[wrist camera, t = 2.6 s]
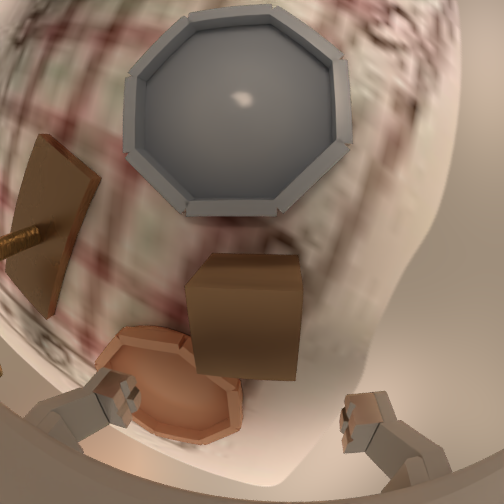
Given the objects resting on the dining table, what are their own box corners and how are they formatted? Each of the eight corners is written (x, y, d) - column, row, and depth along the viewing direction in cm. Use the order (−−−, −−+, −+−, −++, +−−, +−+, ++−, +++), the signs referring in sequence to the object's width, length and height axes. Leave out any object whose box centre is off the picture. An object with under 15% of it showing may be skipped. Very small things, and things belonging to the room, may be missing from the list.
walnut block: (212, 252, 16) (184, 286, 12) (298, 254, 16) (303, 291, 11) (217, 325, 18) (196, 373, 13) (293, 328, 17) (295, 381, 12)
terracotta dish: (93, 315, 19) (81, 326, 17) (239, 333, 18) (235, 349, 16) (129, 414, 22) (122, 425, 21) (245, 435, 21) (242, 450, 19)
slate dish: (144, 38, 13) (131, 28, 11) (335, 21, 11) (339, 7, 9) (141, 213, 16) (126, 218, 14) (343, 213, 15) (351, 218, 13)
